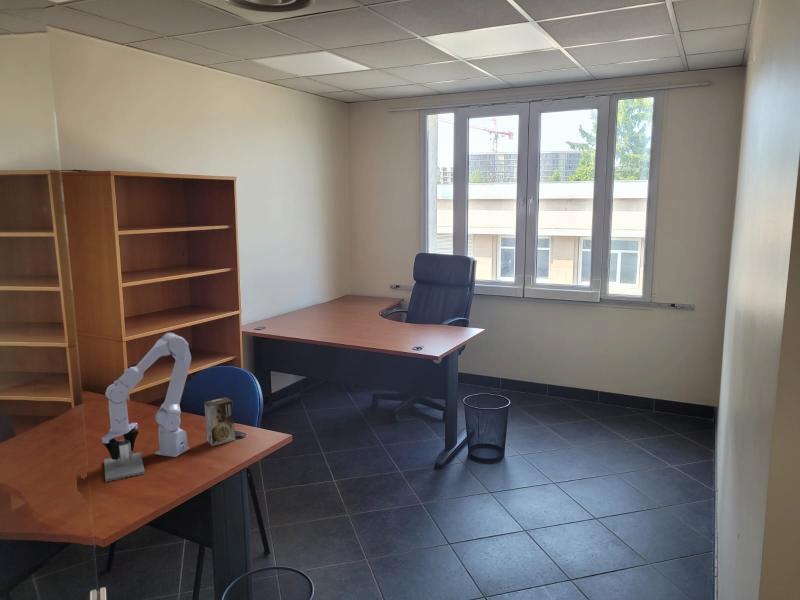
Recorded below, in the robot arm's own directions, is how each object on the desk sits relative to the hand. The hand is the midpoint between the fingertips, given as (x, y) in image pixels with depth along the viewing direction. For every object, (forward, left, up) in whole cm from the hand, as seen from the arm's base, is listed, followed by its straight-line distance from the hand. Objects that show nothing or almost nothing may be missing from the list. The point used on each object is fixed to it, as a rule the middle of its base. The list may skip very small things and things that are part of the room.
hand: (122, 454), depth 205 cm
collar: (0, 0, -3) cm, 3 cm away
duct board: (-2, +2, -4) cm, 5 cm away
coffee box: (-21, -28, -4) cm, 35 cm away
